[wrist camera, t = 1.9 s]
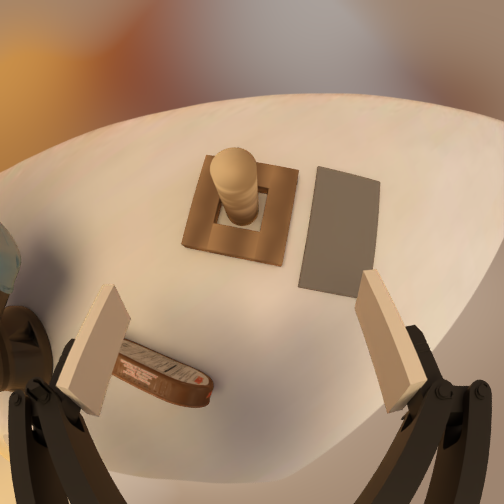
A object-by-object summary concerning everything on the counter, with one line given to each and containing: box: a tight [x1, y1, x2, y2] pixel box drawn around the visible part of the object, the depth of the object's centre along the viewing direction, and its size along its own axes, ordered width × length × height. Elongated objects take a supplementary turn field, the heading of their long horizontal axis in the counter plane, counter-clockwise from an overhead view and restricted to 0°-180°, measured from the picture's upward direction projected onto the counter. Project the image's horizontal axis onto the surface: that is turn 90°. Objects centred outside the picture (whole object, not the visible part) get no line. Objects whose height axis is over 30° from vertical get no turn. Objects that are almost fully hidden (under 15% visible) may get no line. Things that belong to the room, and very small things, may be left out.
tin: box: [112, 339, 213, 408], centre depth 28 cm, size 15×3×8 cm, turn 72°
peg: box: [210, 148, 258, 226], centre depth 29 cm, size 4×4×12 cm
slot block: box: [181, 155, 299, 267], centre depth 34 cm, size 12×12×2 cm
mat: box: [298, 166, 380, 298], centre depth 34 cm, size 9×16×1 cm, turn 168°
